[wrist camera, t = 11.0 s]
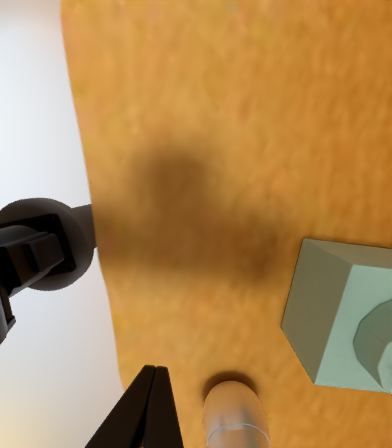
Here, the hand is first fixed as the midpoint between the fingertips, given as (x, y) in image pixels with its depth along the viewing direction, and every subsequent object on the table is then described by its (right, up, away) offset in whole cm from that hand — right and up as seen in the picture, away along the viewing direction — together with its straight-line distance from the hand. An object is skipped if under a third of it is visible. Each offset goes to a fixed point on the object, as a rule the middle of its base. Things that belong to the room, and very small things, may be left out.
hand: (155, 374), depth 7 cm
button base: (+16, -1, +13) cm, 20 cm away
